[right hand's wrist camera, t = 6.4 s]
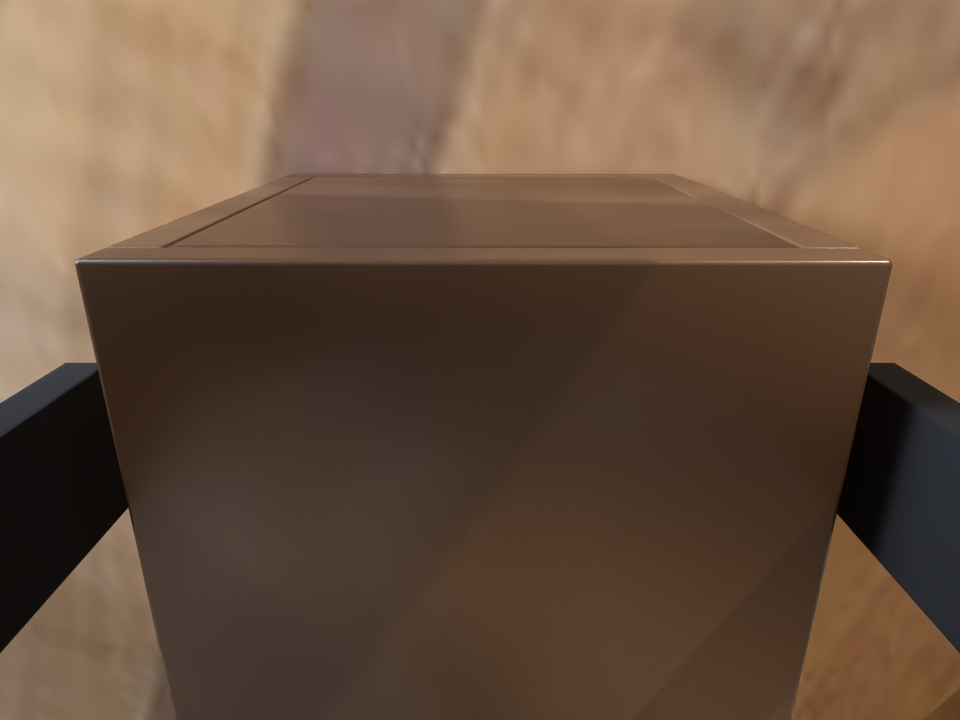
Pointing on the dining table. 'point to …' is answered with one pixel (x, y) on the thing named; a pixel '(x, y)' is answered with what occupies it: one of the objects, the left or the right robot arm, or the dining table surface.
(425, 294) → the cabinet
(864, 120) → the dining table surface
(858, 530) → the right robot arm
